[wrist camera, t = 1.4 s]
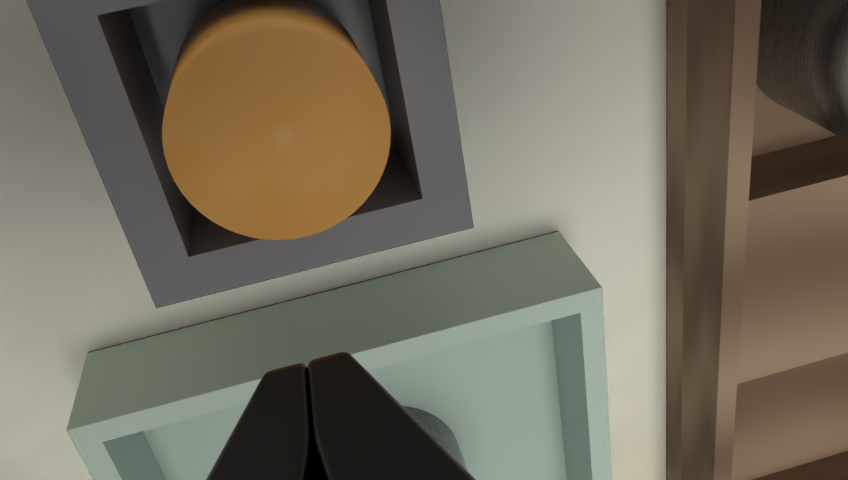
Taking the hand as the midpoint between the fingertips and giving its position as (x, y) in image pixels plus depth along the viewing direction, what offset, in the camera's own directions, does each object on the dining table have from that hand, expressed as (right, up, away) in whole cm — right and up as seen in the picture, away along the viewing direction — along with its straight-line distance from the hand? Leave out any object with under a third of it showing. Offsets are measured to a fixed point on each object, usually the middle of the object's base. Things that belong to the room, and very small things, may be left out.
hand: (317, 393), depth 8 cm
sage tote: (0, -5, +17) cm, 17 cm away
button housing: (-2, +6, +10) cm, 12 cm away
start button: (-2, +5, +8) cm, 10 cm away
